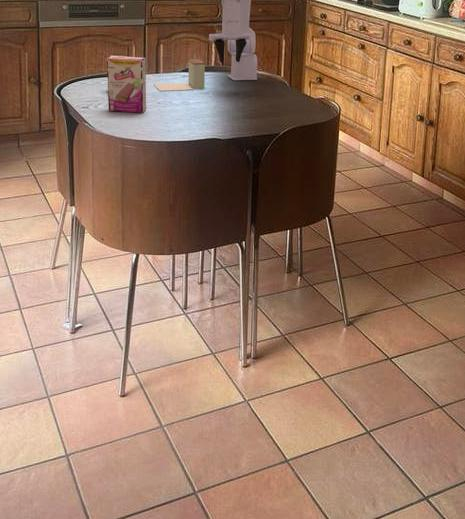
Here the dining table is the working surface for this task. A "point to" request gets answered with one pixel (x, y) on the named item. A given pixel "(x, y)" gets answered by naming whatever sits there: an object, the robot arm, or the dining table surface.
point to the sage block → (196, 73)
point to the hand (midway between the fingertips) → (229, 61)
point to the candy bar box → (126, 84)
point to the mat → (173, 87)
